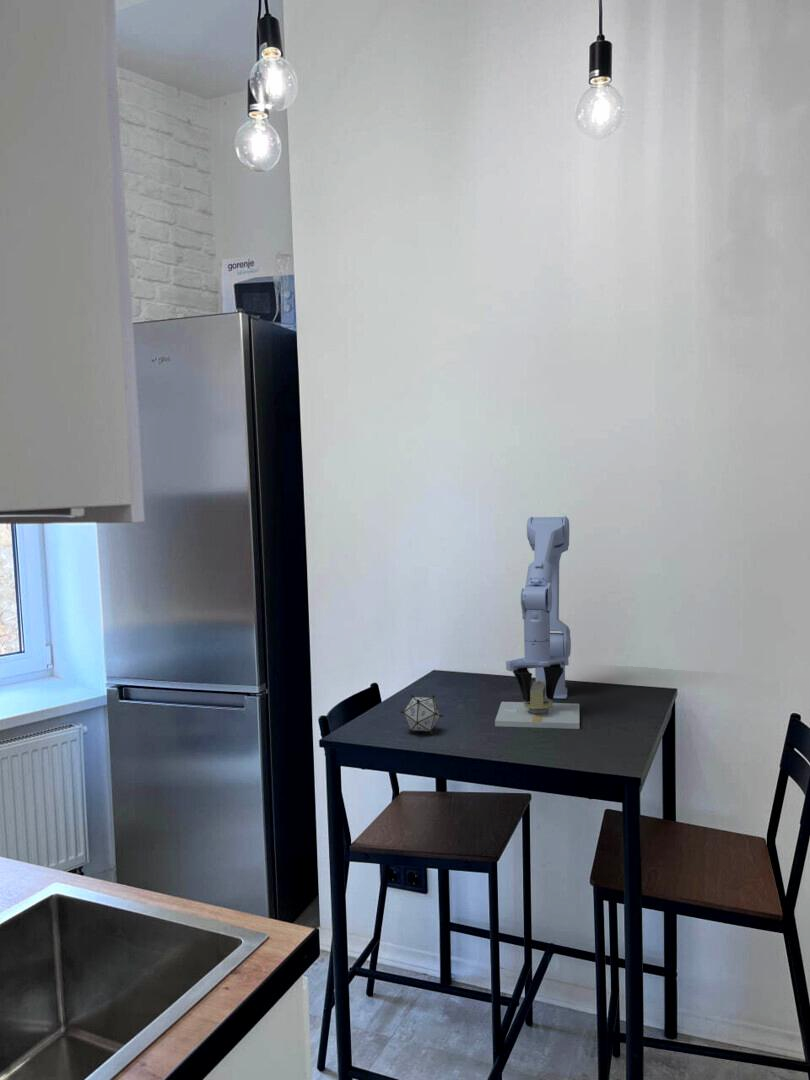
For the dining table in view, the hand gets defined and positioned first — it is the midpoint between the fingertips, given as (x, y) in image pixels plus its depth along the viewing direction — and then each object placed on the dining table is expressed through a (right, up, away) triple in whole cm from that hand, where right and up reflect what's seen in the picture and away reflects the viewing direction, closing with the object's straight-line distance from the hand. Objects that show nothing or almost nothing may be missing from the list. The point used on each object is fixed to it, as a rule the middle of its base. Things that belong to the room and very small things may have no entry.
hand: (538, 699), depth 189 cm
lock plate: (0, -4, 0) cm, 4 cm away
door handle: (0, -2, 0) cm, 2 cm away
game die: (-26, -6, -8) cm, 28 cm away
